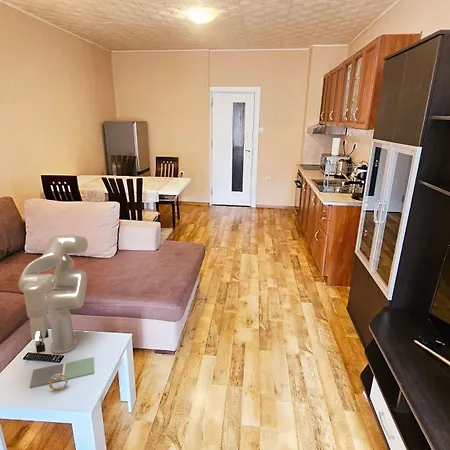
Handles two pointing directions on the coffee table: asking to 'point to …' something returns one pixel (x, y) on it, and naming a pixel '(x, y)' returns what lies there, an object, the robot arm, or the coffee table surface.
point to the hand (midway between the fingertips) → (43, 344)
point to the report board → (62, 372)
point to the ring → (58, 378)
